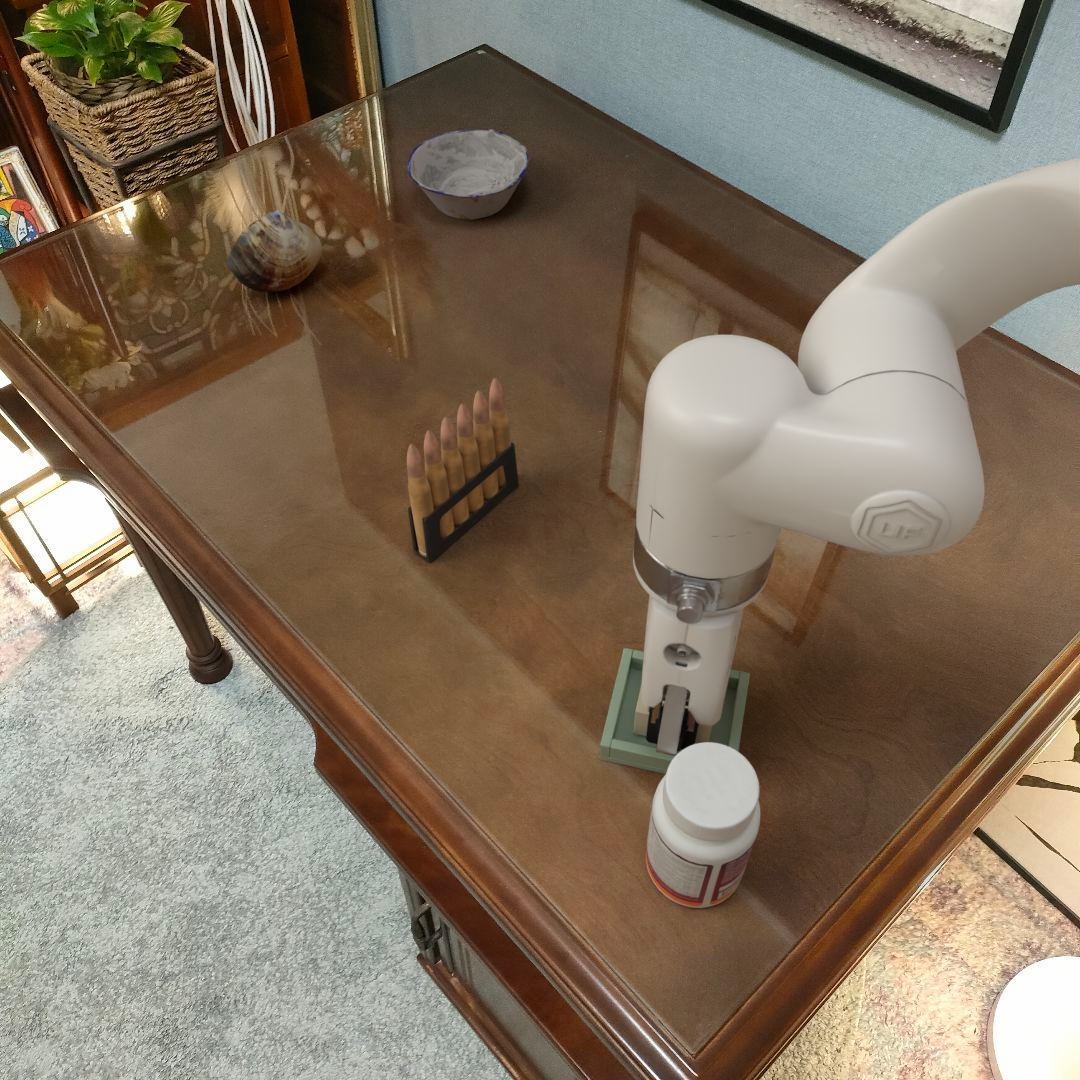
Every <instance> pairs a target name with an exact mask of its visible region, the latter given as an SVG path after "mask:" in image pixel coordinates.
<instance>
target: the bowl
mask: <svg viewBox="0 0 1080 1080" xmlns="http://www.w3.org/2000/svg"><path fill="white" fill-rule="evenodd" d="M528 153H529V149H528V148H527V147H526V146H525V145H524V144H521V143H520V142H519V141H518V140H517V139H514V138H513V137H511V136H510V135H508V134H505V133H503V132H502V131H495V129H492V128H490V129H488V130H487V129H486V130H484V129H467V130H465V129H463V130H455V131H449V132H443V133H439V134H438V135H434V136H432V137H430V138H428V139H426V140H424V141H423V142H422V143H420V144H419V145H417V146H415V147H413V150H412V152H411V153H410V154H409V157H408V160H407V165H406V166H407V167H406V168H407V173H408V175H409V177H410V179H411V180H412V181H413V182H414V183H415V184H416V185H417V186H418V187H419V188H420V189H421V190H422V191H423V193H424V194H425V195H426V196H427V198H429V200H430V201H431V203H432V204H433V205H434V206H435V207H436V208H437V209H438V210H439V211H440V212H441V213H443V214H444V215H446V216H448V217H451V218H454V219H459V220H472V221H473V220H479V219H483V218H487V217H490V216H493V215H495V214H497V213H498V212H500V211H502V209H504V208H505V207H506V205H507V204H508V203H509V200H510V199H511V197H512V196H513V194H514V192H515V191H516V189H517V187H518V186H519V184H520V182H521V180H522V179H523V177H524V176H525V174H526V173H527V171H528V169H529V164H530V157H529V156H530V155H529V154H528Z"/></svg>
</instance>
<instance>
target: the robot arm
mask: <svg viewBox="0 0 1080 1080" xmlns="http://www.w3.org/2000/svg"><path fill="white" fill-rule="evenodd" d="M1078 285H1079V286H1080V157H1077V158H1072V159H1067V160H1061V161H1056V162H1053V163H1048V164H1045V165H1040V166H1035V167H1033V168H1030V169H1027V170H1024V171H1021V172H1018V173H1015V174H1012V175H1010V176H1006V177H1004V178H1001V179H997V180H994V181H991V182H988V183H986V184H983V185H979V186H976V187H973V188H971V189H969V190H967V191H964V192H962V193H959V194H957V195H955V196H954V197H951V198H950V199H948V200H946V201H944V202H941V203H940V204H938V205H937V206H935V207H933V208H932V209H930V210H929V211H927V212H926V213H924V214H921V216H920V217H918V218H917V219H915V220H914V221H913V222H912V223H909V225H907V226H906V227H905V228H903V229H902V230H901V231H900V232H899V233H897V234H896V235H895V236H894V237H893V238H891V239H890V240H888V242H887V243H885V244H884V245H883V246H882V247H881V248H879V249H878V250H877V251H876V252H875V253H874V254H872V255H871V256H870V257H868V259H866V260H865V261H864V262H862V263H861V264H860V265H859V266H858V267H857V268H856V269H855V270H854V271H852V272H851V273H849V274H848V276H847V277H845V278H844V279H843V280H842V281H841V282H840V283H839V284H838V285H837V286H836V287H835V288H834V289H833V290H832V291H831V292H830V293H829V294H828V295H827V297H825V299H824V300H823V301H822V302H821V304H820V305H819V306H818V307H817V309H816V310H815V311H814V313H813V314H812V316H811V317H810V319H809V321H808V322H807V325H806V327H805V329H804V331H803V333H802V336H801V339H800V343H799V346H798V347H799V349H798V352H797V353H798V354H797V364H796V363H795V362H794V361H793V360H792V359H791V358H790V357H789V356H788V355H787V354H786V353H784V352H783V351H782V350H780V349H779V348H777V347H775V346H773V345H771V344H769V343H767V342H765V341H762V340H760V339H757V338H753V337H748V336H744V335H738V334H737V335H736V334H713V335H705V336H700V337H696V338H694V339H691V340H688V341H686V342H685V341H684V343H681V344H679V345H677V346H676V347H675V348H673V349H672V350H671V351H669V352H668V353H667V354H666V355H665V356H664V357H663V358H662V359H661V360H660V361H659V362H658V364H657V365H656V367H655V368H654V370H653V372H652V373H651V376H650V378H649V381H648V384H647V386H646V387H647V388H646V394H645V400H644V401H645V402H644V409H643V410H644V411H643V412H644V413H643V424H642V425H643V426H642V438H641V451H640V452H641V453H640V465H639V477H638V488H637V490H638V491H637V501H636V513H635V526H634V527H635V528H634V529H635V530H634V538H633V548H632V549H633V550H632V551H633V552H632V566H633V569H634V575H635V576H636V578H637V581H638V582H639V584H640V585H641V588H643V590H644V591H645V592H646V593H647V594H648V595H649V596H648V604H647V614H646V622H645V623H646V624H645V634H644V635H645V636H644V647H643V652H644V657H643V670H642V687H641V703H642V705H643V707H644V708H645V709H646V711H647V712H649V718H648V726H647V734H646V740H647V741H648V742H650V743H654V744H657V748H656V752H659V753H663V754H668V755H672V756H676V753H677V751H680V750H683V749H685V748H687V747H688V746H691V745H694V744H695V740H696V735H697V730H698V725H699V724H702V725H709V726H712V725H714V724H716V723H717V722H718V721H719V720H720V718H721V714H722V709H723V704H724V699H725V694H726V689H727V685H728V680H729V675H730V671H731V669H732V666H733V661H734V657H735V654H736V653H735V652H736V647H737V644H738V643H737V642H738V639H739V635H740V629H741V625H742V620H743V615H744V610H745V608H746V607H747V606H749V605H751V604H752V603H753V602H754V601H755V600H756V599H757V598H758V597H759V596H760V595H761V594H762V592H763V591H764V590H765V588H766V585H767V583H768V581H769V576H770V572H771V569H772V564H773V560H774V557H775V552H776V549H777V545H778V541H779V537H780V534H781V529H782V528H783V529H787V530H790V531H793V532H795V533H800V534H803V535H806V536H810V537H813V538H816V539H820V540H822V541H826V542H829V543H832V544H835V545H839V546H843V547H847V548H850V549H854V550H857V551H861V552H866V553H870V554H875V555H880V556H881V555H883V556H891V557H892V556H893V557H919V556H924V555H931V554H934V553H937V552H940V551H943V550H946V549H948V548H950V547H953V546H954V545H956V544H957V543H958V542H960V541H961V540H962V539H964V538H965V537H967V535H968V534H969V533H970V532H971V531H972V530H973V528H974V527H975V526H976V524H977V522H978V520H979V518H980V516H981V514H982V511H983V508H984V502H985V493H986V491H985V490H986V489H985V477H984V471H983V465H982V460H981V455H980V451H979V447H978V443H977V439H976V434H975V431H974V430H975V429H974V426H973V421H972V417H971V411H970V407H969V402H968V398H967V394H966V390H965V385H964V381H963V377H962V373H961V369H960V364H959V361H958V360H959V359H958V354H957V351H958V350H959V349H961V348H962V347H963V346H964V345H965V344H967V343H969V342H970V341H971V340H972V339H974V338H975V337H978V335H979V334H981V333H982V332H984V331H985V330H986V329H988V328H989V327H991V326H992V325H994V324H995V323H997V322H998V321H999V320H1000V319H1002V318H1004V317H1005V316H1006V315H1008V314H1010V313H1012V312H1013V311H1015V310H1017V309H1018V308H1020V307H1021V306H1024V304H1027V303H1029V302H1031V301H1034V300H1035V299H1037V298H1039V297H1041V296H1043V295H1046V294H1049V293H1052V292H1055V291H1057V290H1062V289H1063V288H1068V287H1073V286H1074V287H1075V286H1078ZM663 701H665V703H664V704H663ZM662 704H663V706H662ZM685 706H688V708H689V711H688V708H685Z"/></svg>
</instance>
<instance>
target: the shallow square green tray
mask: <svg viewBox="0 0 1080 1080" xmlns="http://www.w3.org/2000/svg"><path fill="white" fill-rule="evenodd" d="M643 657H644V650H637V649H633V648H628V647H624V648H623V650H622V654H621V659H620V662H619V666H618V670H617V674H616V677H615V682H614V686H613V691H612V694H611V698H610V702H609V707H608V711H607V715H606V719H605V723H604V728H603V732H602V735H601V740H600V744H599V760H601V761H605V762H609V763H614V764H618V765H623V766H628V767H632V768H636V769H641V770H646V771H650V772H655V773H657V774H658V773H659V774H663V775H666V772H667V769H668V767H669V765H670V763H671V761H672V760H673V758H674V757H675V756H672V755H668V754H663V753H659V752H656V748H657V744H654V743H650V742H648V741H647V740H646V736H644V735H639V734H635V733H633V731H634V721H635V711H636V707H637V702H638V698H639V693H640V689H641V685H642V670H643ZM750 676H751V673H750V672H747V671H740V670H736V669H732V668H731V671H730V675H729V680H728V685H727V689H726V694H725V699H724V704H723V709H722V714H721V718H720V720H719V721H718V722H717V723H716V724H714V725H712V729H711V733H710V737H709V742H712V743H719V744H723V745H726V746H729V747H731V748H733V749H735V750H736V751H738V752H740V751H739V750H740V744H741V737H742V729H743V724H744V723H743V722H744V718H745V717H744V716H745V710H746V703H747V697H748V690H749V682H750ZM680 751H682V750H680ZM680 751H677V753H676V755H677V754H678V753H679V752H680Z"/></svg>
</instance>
